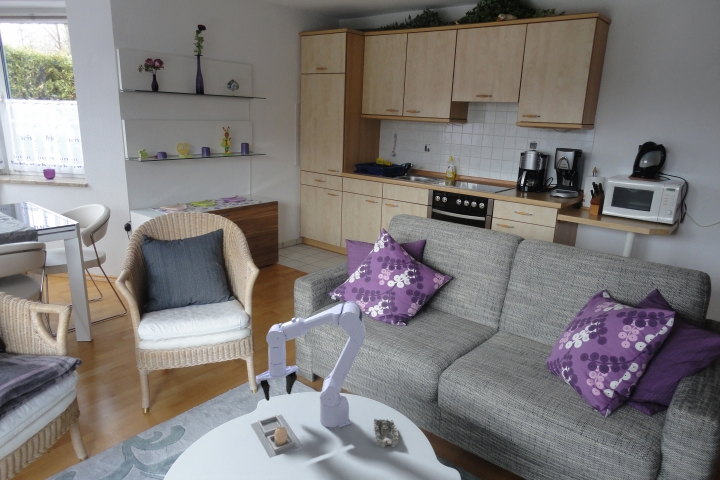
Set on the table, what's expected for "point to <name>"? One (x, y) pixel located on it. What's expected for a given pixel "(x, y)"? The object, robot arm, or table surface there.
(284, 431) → the egg
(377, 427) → the grey stone ruin model
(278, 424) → the egg stand
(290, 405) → the table surface
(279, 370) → the robot arm
